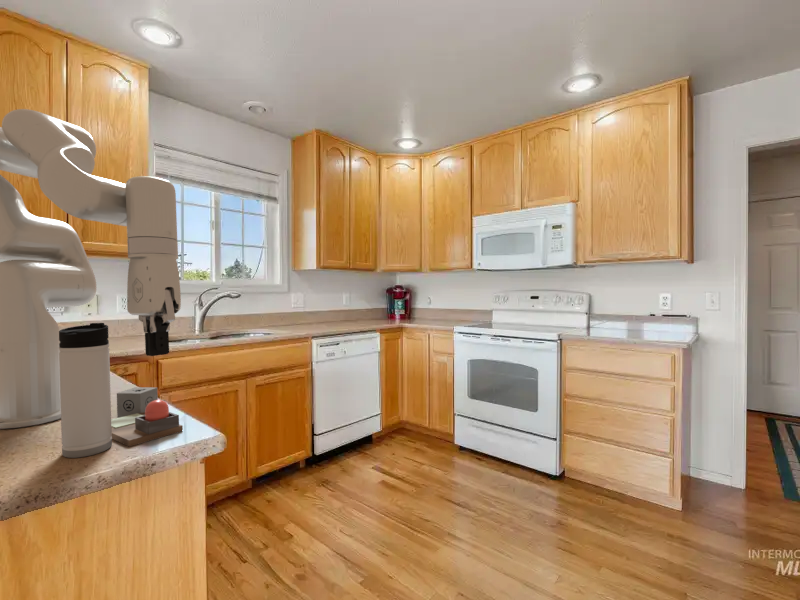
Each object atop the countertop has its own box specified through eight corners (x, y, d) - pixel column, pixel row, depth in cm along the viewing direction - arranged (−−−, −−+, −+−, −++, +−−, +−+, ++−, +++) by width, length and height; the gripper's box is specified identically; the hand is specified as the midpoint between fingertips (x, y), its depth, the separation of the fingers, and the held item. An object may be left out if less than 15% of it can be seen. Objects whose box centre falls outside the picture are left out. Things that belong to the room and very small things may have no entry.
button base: (92, 429, 74) (91, 413, 74) (143, 417, 81) (143, 402, 81) (129, 446, 66) (128, 428, 66) (182, 431, 73) (182, 414, 73)
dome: (141, 422, 71) (140, 400, 71) (162, 417, 74) (162, 396, 74) (151, 426, 69) (150, 403, 69) (172, 420, 72) (172, 399, 72)
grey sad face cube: (140, 418, 81) (140, 393, 81) (117, 418, 81) (116, 393, 81) (157, 411, 86) (157, 387, 86) (135, 410, 86) (135, 387, 86)
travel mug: (122, 441, 68) (118, 322, 68) (93, 458, 61) (90, 325, 61) (83, 442, 68) (80, 323, 67) (51, 459, 61) (47, 326, 61)
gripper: (110, 252, 72) (115, 355, 73) (150, 244, 64) (155, 361, 64) (155, 255, 79) (159, 349, 79) (197, 248, 70) (201, 354, 70)
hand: (157, 354), depth 71 cm, fingers closed
